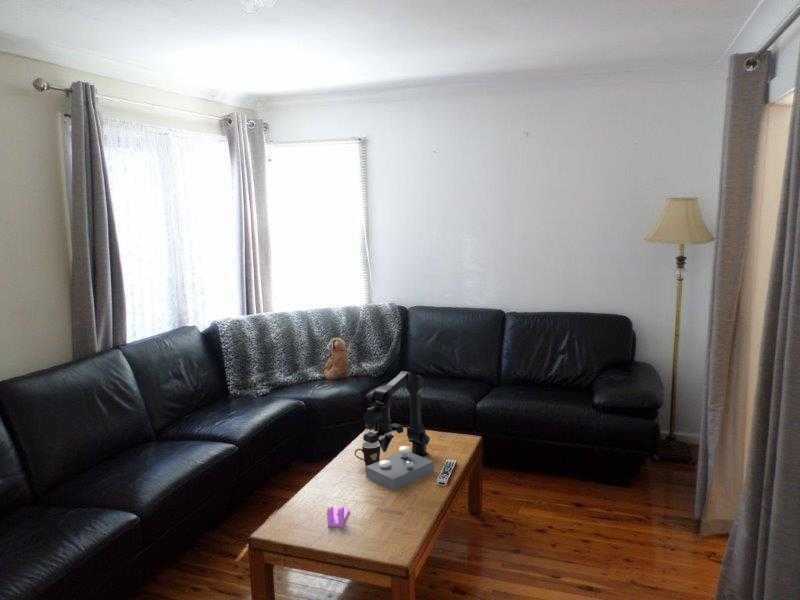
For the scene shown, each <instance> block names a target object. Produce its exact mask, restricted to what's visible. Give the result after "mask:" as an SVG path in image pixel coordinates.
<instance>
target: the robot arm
mask: <svg viewBox="0 0 800 600" xmlns="http://www.w3.org/2000/svg"><path fill="white" fill-rule="evenodd" d="M424 379H425V378H424V377H423V376H422V375H416V374H413V373H412V372H410V371H404V370H402V371H400V372H399V374H397V375H396V377H394V378H393V379H391V380H390V381H389V382H388V383H387V384H386V385H383V386H382V385H381V386H378V387H377V388H375V390H373V393H372V395H371V399H370V400H369V404H368V406H369V407H368V408H366V411H365V412H364V413H363V416H362V418H363V421H364V423H365V424H364V427H365V429H366V430H369V432H366V433H364V434H363V437H362V439H363V441H364V442H369V443H375V442H379V443H380V449H381V450H382V452H383V453H386V452H387V450H388V448H389V446H390V443H391V442H392V440H393V438H394V437H395V436H394V435H393V432H396V433H397V434H401V433H403V432H404V426H403V425H402V424H399V423H395V422H394V423H392V422H393V421H392V419H390V417H391V416H390V415H391V414H390V406H392V405H393V403H392V402H391V401H392V400H393V399H394V394H396V392H397V391H398V390H400V388H402V387H403V386H404V385H405V389H406V390H407V392H408V394H409V404H410V405H409V406H410V407H409V409H410V423H409V426H408V427H406V436H407V438H408V442H409V443H412V444H411V445H412V446H411V453H414V454H416V455H419V456H421V457H425V456H428V455H430V453H429V452H427V445H429V443H430V437H429V435H428V434H427V433H426V432H427V431H426V428H425V426H424V424H423V423H422V403H421V400H422V399H421V393H422V391H423V390H424V387H425V385H424V384H425V380H424ZM391 423H392V424H391ZM372 430H373V431H374V432H376V433H374V432H372Z"/></svg>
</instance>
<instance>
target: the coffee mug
mask: <svg viewBox="0 0 800 600" xmlns="http://www.w3.org/2000/svg"><path fill="white" fill-rule="evenodd" d="M361 446H362V448H356V450H355V451H354V456H355V457H356V458H357V459H359V460H361V461H363V462H364V464H365V467H366V466H368V465H371V464H373V463H376V462H378V461H380V460H381V459H380V457H381V446H380V443H379V442H375V443H369V442H366V441H364V442H362V443H361ZM358 451H361V453H362V455H363V458H361V457H359V456H358V455H357V452H358Z"/></svg>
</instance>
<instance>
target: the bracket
mask: <svg viewBox="0 0 800 600" xmlns="http://www.w3.org/2000/svg"><path fill="white" fill-rule="evenodd" d="M349 513H350V509H349V507H348V506H345V505H340V506H337V507H336V508H334V506H331V505H330V506H327V509H326V520H327V521H326V522H327V527H332V528H333V527H335V528H343V527H344V524H345V522H346V520H347V518H348V516H349Z"/></svg>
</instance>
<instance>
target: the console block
mask: <svg viewBox="0 0 800 600" xmlns="http://www.w3.org/2000/svg"><path fill="white" fill-rule="evenodd" d="M407 454H408V457H407V458H402V453H400V452H398V453H394V454H392V455H390V456H388V457H385V458H383V459H379V461H378V462H376V463H373V464H371V465H368V466H365V478H367V479H369V480H371V481H373V482H375V483H378V484H379V485H381V486H384V487H385V488H388V489H389V490H391V491H393V492H394V491H396V490H398V489H400V488H402V487H404V486H407V485H409V484H411V483H414V482H415V481H417V480H420V479H421V478H425V476H428V475H430V474H432V473H434V461H433V460H431V459H428V458H426V457H425V456H423V457H421V456H419V455H416V454H414V453H412V451H410V452H409V453H407ZM409 458H410V460H411V461H413V469H412V470H407V469H406V461H409ZM382 460H389V461H391V466H390V467H388V468H385V469H384V468H381V467H379V462H380V461H382Z"/></svg>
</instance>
